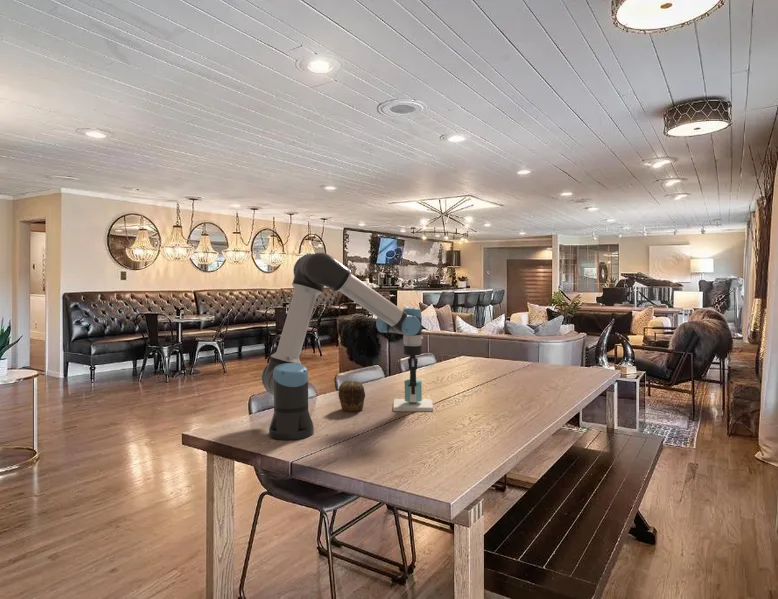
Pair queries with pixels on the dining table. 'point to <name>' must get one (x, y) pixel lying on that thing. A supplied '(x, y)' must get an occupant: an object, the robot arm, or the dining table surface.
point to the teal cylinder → (418, 390)
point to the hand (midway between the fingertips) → (413, 399)
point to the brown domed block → (351, 396)
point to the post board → (412, 405)
